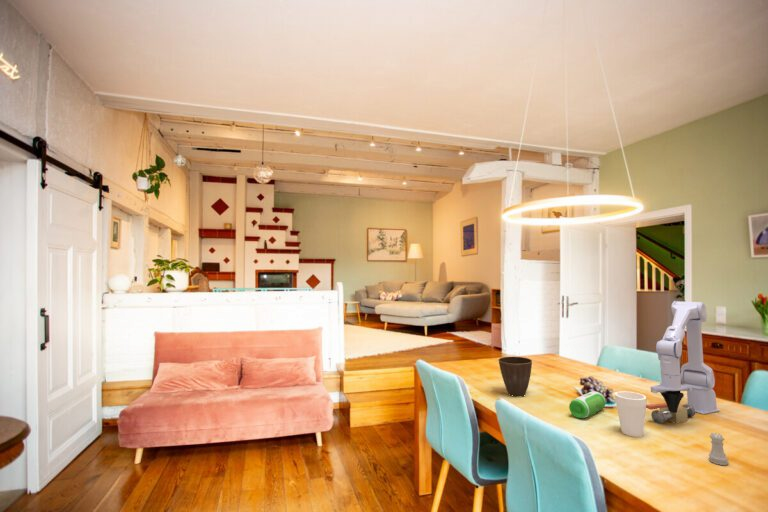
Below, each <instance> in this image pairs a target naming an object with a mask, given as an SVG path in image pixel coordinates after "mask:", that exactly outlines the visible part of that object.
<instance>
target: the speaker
mask: <svg viewBox="0 0 768 512" xmlns="http://www.w3.org/2000/svg"><path fill="white" fill-rule="evenodd" d="M606 405H607V399H606V397H605V395H603V393H601V392H599V391H594V390H593V391H590V392H587V393H585V394H582V395H580V396H578V397H576V398H573V399H572V400H571V401H570V403H569V406H568V407H569V412H570V413H571V415H573V416H574V417H575V418H578V419H584V418H589V417H591V416H593V415H596V414H598V412H599V411H601V410H603V409H604V408H605V406H606Z"/></svg>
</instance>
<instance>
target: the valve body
mask: <svg viewBox="0 0 768 512" xmlns="http://www.w3.org/2000/svg"><path fill="white" fill-rule="evenodd" d="M650 414H651V418H652V420H653V421H654V422H655V423H657V424H663V423H664V422H665V421H668V422H670V421H671V423H673V422H674V423H673V424H676V423H677V424H681V422H682V423H686V422H688V421H689V420H688V419H689V418H692V417H694V416H695V415H696V412H695V410H694V408H693V407H692V406H691V405H688V403H687V404H683V405H682V406H681V405H679V406H678V410H677V413H672V412H670V411H669V409H668V407H665V408H659V410H658V409H654V410H652V412H651V413H650ZM688 417H689V418H688Z"/></svg>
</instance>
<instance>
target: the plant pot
mask: <svg viewBox="0 0 768 512" xmlns="http://www.w3.org/2000/svg"><path fill="white" fill-rule="evenodd" d="M498 364H499V369H500V374H501V377H502V380H503V384H504V386H505V388H506V389H505V390H506V391H507V394H508V395H509V394H510V395H509V396H511V395H513V396H512V397H514V396H522V397H525V396H526V393H527V390H528V387H529V384H530V380H531V375H532V365H533V361H532V359H530V358H528V357H523V356H505V357H499V358H498ZM524 395H525V396H524Z"/></svg>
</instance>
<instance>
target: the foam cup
mask: <svg viewBox="0 0 768 512" xmlns="http://www.w3.org/2000/svg"><path fill="white" fill-rule="evenodd" d="M647 400H648V399H647V397H646V395H644V394H642V393H638V392H636V391H635V392H633V391H629V390H628V391H624V390H623V391H622V390H621V391H620V390H619V391H616V392H614V401H615V404H616V405H615V406H616V410H617V415H618V419H619V426H620V430H621V433H622V434H624V435H625V434H626V436H629V437H632V438H633V437H634V438H635V437H636V438H640V437H643V436H644V433H645V431H644V430H645V420H646V411H647V408H646V405H648V401H647Z"/></svg>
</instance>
